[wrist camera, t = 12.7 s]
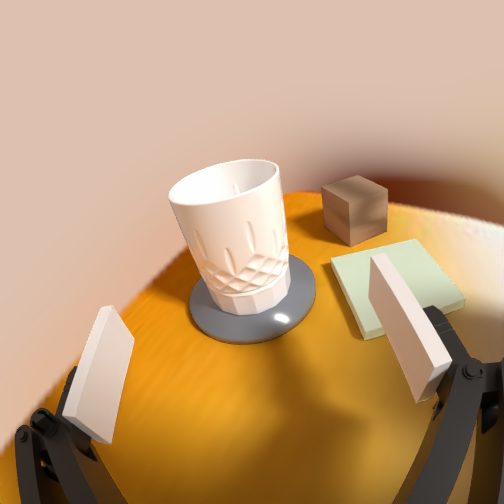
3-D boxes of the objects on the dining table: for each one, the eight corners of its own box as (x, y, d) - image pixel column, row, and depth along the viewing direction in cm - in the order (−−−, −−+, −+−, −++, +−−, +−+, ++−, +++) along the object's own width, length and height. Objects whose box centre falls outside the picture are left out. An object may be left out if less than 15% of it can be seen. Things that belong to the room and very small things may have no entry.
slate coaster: (301, 248, 30) (300, 241, 30) (330, 327, 21) (330, 320, 21) (196, 270, 31) (194, 264, 31) (187, 354, 22) (184, 348, 21)
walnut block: (359, 214, 34) (357, 175, 31) (386, 232, 30) (387, 189, 27) (324, 227, 33) (320, 186, 30) (350, 247, 29) (348, 202, 26)
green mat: (414, 247, 27) (415, 238, 26) (462, 307, 19) (466, 298, 19) (331, 266, 27) (330, 258, 26) (364, 340, 19) (365, 331, 19)
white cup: (205, 272, 29) (172, 176, 23) (284, 252, 29) (266, 152, 24) (209, 332, 22) (161, 216, 17) (309, 306, 22) (293, 182, 17)
